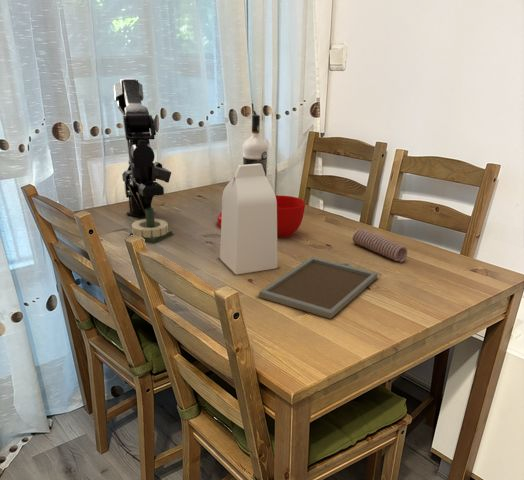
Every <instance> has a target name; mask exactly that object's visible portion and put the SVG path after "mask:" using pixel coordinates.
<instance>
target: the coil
mask: <svg viewBox="0 0 524 480" xmlns="http://www.w3.org/2000/svg"><path fill="white" fill-rule="evenodd" d="M352 242H353V243H354V244H356V245H359V246H360V247H363V248H365V249H367V250H369V251H372V252H374V253H376V254H379V255H381V256H384V257H386V258H388V259H390V260H392V261H395V262H399V263H403V262H404V261H405V260H406V259H407V257H408V248H407V247H406V246H405V245H403V244H400V243H398V242H395V241H394V240H391V239H388V238H385V237H384V236H381V235H379V234H376V233H373V232H371V231H368V230H366V229H364V228H357V230H355V231H354V233H353V234H352Z"/></svg>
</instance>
